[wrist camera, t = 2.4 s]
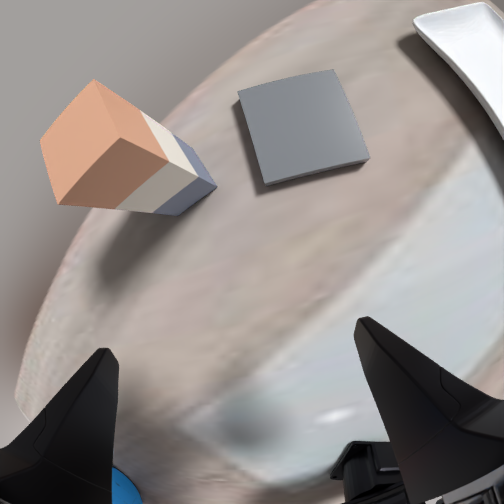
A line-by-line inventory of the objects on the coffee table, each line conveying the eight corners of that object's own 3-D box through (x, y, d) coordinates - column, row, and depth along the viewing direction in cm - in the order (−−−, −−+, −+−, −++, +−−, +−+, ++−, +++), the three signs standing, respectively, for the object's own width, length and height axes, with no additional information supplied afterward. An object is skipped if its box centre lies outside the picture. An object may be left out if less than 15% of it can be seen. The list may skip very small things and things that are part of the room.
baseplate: (366, 161, 19) (370, 157, 17) (266, 186, 20) (264, 183, 19) (332, 76, 18) (333, 69, 17) (240, 98, 20) (237, 91, 19)
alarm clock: (82, 449, 27) (30, 496, 13) (97, 445, 26) (40, 500, 12) (137, 500, 27) (99, 552, 12) (158, 499, 26) (119, 560, 11)
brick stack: (217, 186, 21) (120, 137, 8) (177, 215, 21) (57, 204, 9) (193, 148, 21) (93, 79, 8) (155, 177, 21) (39, 140, 9)
